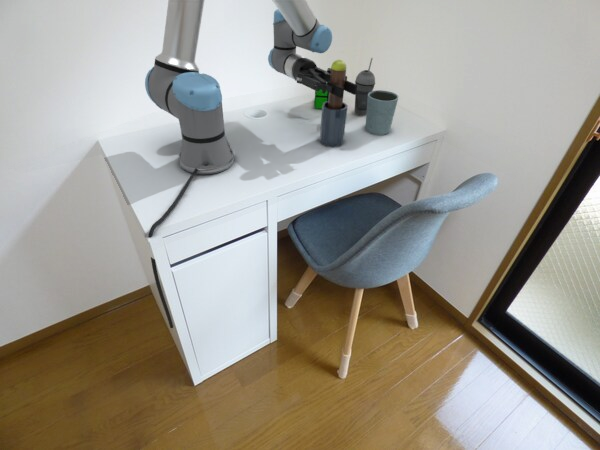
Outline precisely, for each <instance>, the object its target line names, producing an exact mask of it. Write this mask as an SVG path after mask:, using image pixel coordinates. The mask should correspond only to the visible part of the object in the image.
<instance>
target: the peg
mask: <svg viewBox="0 0 600 450" xmlns="http://www.w3.org/2000/svg"><path fill="white" fill-rule="evenodd" d="M330 68H331V74H330V82H332V83H334V84H336V85H338V86H340V87H343V88H344V85H345V76H347V64H346V63H345V61H344V60H342V59H336V60H334V61H333V62H332V63H331V66H330ZM344 93H345V90H344V91H343V95H344ZM342 103H344V97H343V98H340V97H338V96H336V95H334V94H331V93H329V98H328V108H330V109H336V110H337V109H342Z"/></svg>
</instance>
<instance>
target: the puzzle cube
mask: <svg viewBox="0 0 600 450" xmlns="http://www.w3.org/2000/svg"><path fill="white" fill-rule="evenodd" d="M326 84H327V82H326ZM328 98H329V92H327V91H326V93H322V90H321V89H320V91H315V90H314V104H313V109H315V110H322V105H323V103H324V102H327V101H328Z"/></svg>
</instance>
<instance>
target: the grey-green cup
mask: <svg viewBox="0 0 600 450" xmlns="http://www.w3.org/2000/svg"><path fill="white" fill-rule="evenodd" d="M398 101H399V95H398V94H397V93H396V92H393V91H390V90H389V91H388V90H383V89H382V90H379V89H378V90H373V91H371V92H369V93H368V99H367V114H366V115H365V125H364V129H365V131H366V132H367V133H369V134H372V135H377V136H384V135H387V134H389V133H390V132H391V128H392V124H393V119H394V117H395V113H396V109H397V104H398Z"/></svg>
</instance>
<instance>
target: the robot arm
mask: <svg viewBox="0 0 600 450" xmlns="http://www.w3.org/2000/svg"><path fill="white" fill-rule="evenodd" d="M272 2H273V4H274V5H275V6H276V9H275V10H274V12H273V23H272V26H273V48H271V50H270V51H269V54H268V57H267V61H268V65H269V66H270V68H272V69H273V70H275V72H277V73H280V74H282V75H284V76H287V77H288V78H291V79H293V80H294V81H295V82H296V84H300V85H303V86H305V87H307V88H309V89H311V90H313V91H314V92H315V91H320V89H321V90H322V93H326V91H327V92H329V93H331V94H334V95H336V96H338V97H340V98H343V99H344V94H343V91H344V92H347V93H349V94H352V95H354V96H355V94H356V90H357V85H356V84H355V82H351V81H349V80H348V76H347V75H346V76H345V85H344V88H343V87H340V86H338V85H336V84H334V83H332V82H330V74H331V67H328V68H327V69H326V70H325V69H323V68H321V67H318V66H317V64H316V62H315V61H314V60H311V59H309V58H308V57H305V56H303V55H301V54H298V53H297V48H300V49H304V50H307V51H309V52H312V53H316V54H317V53H318V54H324V53H326V52H328V50H329V49H330V47H331V45H332V41H333V32H332V30H331V28H329V27H328V26H326V25H325V24H320V22H319V20H318V19H317V18H316V15H315V14H314V12H313V10H312V8H311V7H310V5H309V3H308V1H307V0H272ZM204 6H205V0H168V1H167V9H166V18H165V25H164V35H163V42H162V50H161V53H159V54H157V55H156V56H155V57H154V63H153V64H154V65H153V66H152V68H151V69H149V70H148V71H147V73H146V75H145V80H144V87H145V91H146V94H147V96H148V98H149V100H151V102H153V103H154V104H155V106H156V107H158V108H159V109H160V110H163V111H164V112H166V113H168V114H170V115H171V116H173V117H174V118H176V119H178V122H179V128H180V133H181V137H182V138H181V146H180V153H179V156H178V160H179V164H180V167H181V168H182V169H183V170H184V171H185V172H187V173H189V174H191V175H190V176H189V178H188V179H187V181H186V182H185V184H184V186H183V187H182V189H181V190H180V192H179V194H178V195H177V197H176V198H175V200H174V201H173V202H172V203H171V205H170V207H168V209H167V210H166V211H165V212H164V214H163V215H161V217H160V218H159V219H158V220H156V221H155V222H154V223H152V225H151V226H150V229H149V233H148V236H147V238H152V237H153V235H154V232H155V229H156V228H157V227H158V226H159V225H160V224H162V223H163V222H164V221H165V220H166V219H167V217H168V216H169V215H170V214H171V213H172V211H173V210H174V208H175V207H176V206H177V204H178V203H179V202H180V200H181V199H182V197H183V195H184V193H186V190H187V189H188V187H189V186H190V184H191V182H192V181H193V179H194V178H195V176H196V175H199V176H202V175H203V176H206V175H215V174H219V173H222V172H224V171H226V170H228V169H230V168H231V167H232V165H233V164H234V162H235V157H234V151H233V150H232V149H233V148H231V145H230V143H229V140H228V138H227V136H226V131H225V129H226V128H225V121H224V109H223V94H222V91H221V90H222V89H221V86H220V83H219V82H218V80H217V79H216V78H215V77H213V76H212V75H210V74H207V73H204V72H203V73H200V68H199V67H198V65H197V63H196V56H197V49H198V44H199V36H200V29H201V24H202V17H203V12H204ZM326 82H327V84H326ZM150 261H151V267H152V272H153V276H154V281H155V285H156V288H157V292H158V295H159V298H160V301H161V305H162V306H163V309H164V313H165V315H166V318H167V321H168V325H169V328H170V329H173V328H174V323H173V319H172V316H171V314H170V313H171V312H170V311H169V308H168V304H167V301H166V299H165V295H164V293H163V289H162V286H161V281H160V278H159V273H158V269H157V263H156V259H155V258H154V257H152V256H150Z"/></svg>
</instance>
